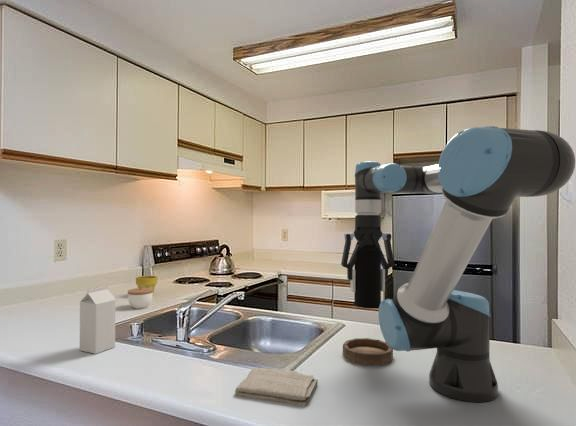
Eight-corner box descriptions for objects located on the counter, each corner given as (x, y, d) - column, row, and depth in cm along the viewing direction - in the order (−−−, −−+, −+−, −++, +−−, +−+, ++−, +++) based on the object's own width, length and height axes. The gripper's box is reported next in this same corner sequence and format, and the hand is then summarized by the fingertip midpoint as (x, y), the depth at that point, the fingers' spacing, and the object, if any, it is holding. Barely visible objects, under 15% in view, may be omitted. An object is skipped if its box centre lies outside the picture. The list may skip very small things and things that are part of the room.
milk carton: (115, 347, 120) (115, 286, 120) (95, 354, 113) (95, 290, 113) (99, 343, 123) (99, 284, 123) (79, 351, 116) (79, 288, 116)
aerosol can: (365, 309, 108) (365, 239, 108) (347, 303, 115) (348, 237, 115) (387, 306, 111) (387, 238, 112) (369, 300, 119) (369, 236, 119)
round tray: (399, 364, 107) (399, 354, 107) (350, 366, 105) (350, 355, 105) (382, 347, 121) (382, 337, 121) (339, 348, 119) (339, 338, 119)
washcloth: (308, 408, 83) (308, 394, 83) (232, 398, 88) (232, 384, 88) (319, 385, 95) (319, 372, 95) (251, 376, 99) (251, 365, 99)
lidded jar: (146, 303, 179) (146, 283, 179) (157, 307, 172) (157, 286, 172) (123, 307, 172) (123, 286, 172) (133, 311, 164) (134, 289, 164)
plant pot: (159, 293, 201) (159, 275, 201) (154, 298, 190) (154, 278, 190) (139, 294, 200) (139, 275, 200) (132, 298, 190) (132, 278, 190)
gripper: (397, 214, 118) (397, 287, 118) (330, 214, 116) (330, 288, 116) (407, 214, 110) (406, 292, 110) (335, 214, 109) (335, 293, 109)
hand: (367, 290), depth 113 cm, fingers closed on aerosol can, 8 cm apart
